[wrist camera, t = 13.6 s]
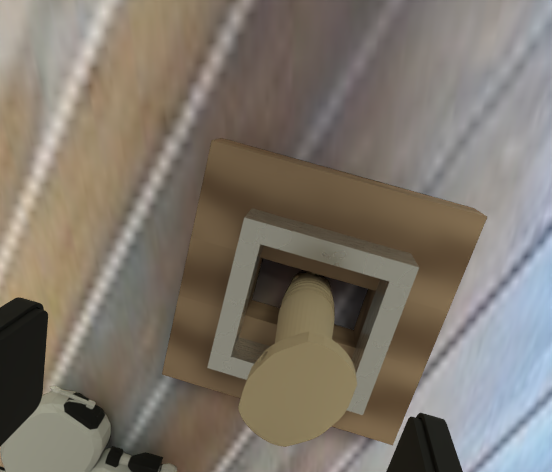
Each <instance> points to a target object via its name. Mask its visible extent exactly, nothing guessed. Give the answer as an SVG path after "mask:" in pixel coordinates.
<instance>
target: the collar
mask: <svg viewBox="0 0 552 472" xmlns="http://www.w3.org/2000/svg"><path fill="white" fill-rule="evenodd" d="M263 245H265V246H268V247H272V248H275V249H279V250H282V251H286V252H289V253H293V254H296V255H299V256H303V257H306V258H310V259H313V260H317V261H320V262H324V263H327V264H331V265H334V266H338V267H341V268H344V269H348V270H351V271H355V272H358V273H362V274H365V275H369V276H372V277H376V278H379V279H380V281H379V283H378V286H377V289H376V292H375V295H374V297H373V300H372V303H371V306H370V309H369V311H368V314H367V317H366V320H365V323H364V325H363V328H362V331H361V334H360V337H359V340H358V342H357V345H356V348H355V351H354V354H353V356H352V359H351V360H352V362H353V365H354V368H355V372H356V378H357V386H356V389H355V392H354V394H353V397H352V399H351V402H350V404H349V407H348V408H347V411H350V412H354V413H357V414H360V415H363V414H364V411H365V408H366V406H367V403H368V401H369V398H370V395H371V393H372V390H373V387H374V385H375V382H376V380H377V377H378V374H379V372H380V369H381V366H382V364H383V361H384V359H385V356H386V353H387V351H388V348H389V345H390V343H391V340H392V338H393V335H394V332H395V330H396V327H397V324H398V322H399V319H400V317H401V314H402V311H403V309H404V306H405V303H406V301H407V298H408V296H409V293H410V290H411V288H412V285H413V282H414V280H415V277H416V275H417V272H418V269H419V266H418V264H417V263H416V261H415V259H414V258H413V256H412V254H410V253H407V252H403V251H400V250H396V249H393V248H389V247H386V246H382V245H379V244H375V243H372V242H368V241H365V240H361V239H358V238H354V237H351V236H347V235H344V234H340V233H337V232H333V231H330V230H326V229H323V228H319V227H316V226H312V225H309V224H305V223H302V222H298V221H295V220H291V219H288V218H284V217H281V216H277V215H274V214H270V213H267V212H263V211H260V210H256V209H253V208H252V209H251V210H250V211H249V213H248V214H247V215H246V216H245V217H244V221H243V225H242V229H241V233H240V237H239V241H238V245H237V249H236V253H235V257H234V261H233V265H232V269H231V273H230V277H229V281H228V286H227V290H226V294H225V298H224V302H223V306H222V310H221V314H220V318H219V322H218V326H217V330H216V334H215V338H214V342H213V346H212V350H211V355H210V359H209V363H208V367H207V368H209V369H213V370H216V371H219V372H222V373H226V374H229V375H232V376H236V377H239V378H242V379H245V380H247V378H248V375H249V373H250V370H251V368H252V366H253V365H254V364H255V362H256V361H257V360H258V359H259V357H260V356H261V355H262V354H263V353H264V351H265V350H266V349H268V348H269V347H270V346H267V345H264V344H261V343H257V342H254V341H251V340H247V339H244V338H241V337H239V336H240V332H241V328H242V324H243V321H244V317H245V313H246V309H247V305H248V302H249V298H250V294H251V290H252V287H253V283H254V279H255V275H256V271H257V268H258V264H259V260H260V256H261V253H262V249H263Z"/></svg>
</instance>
